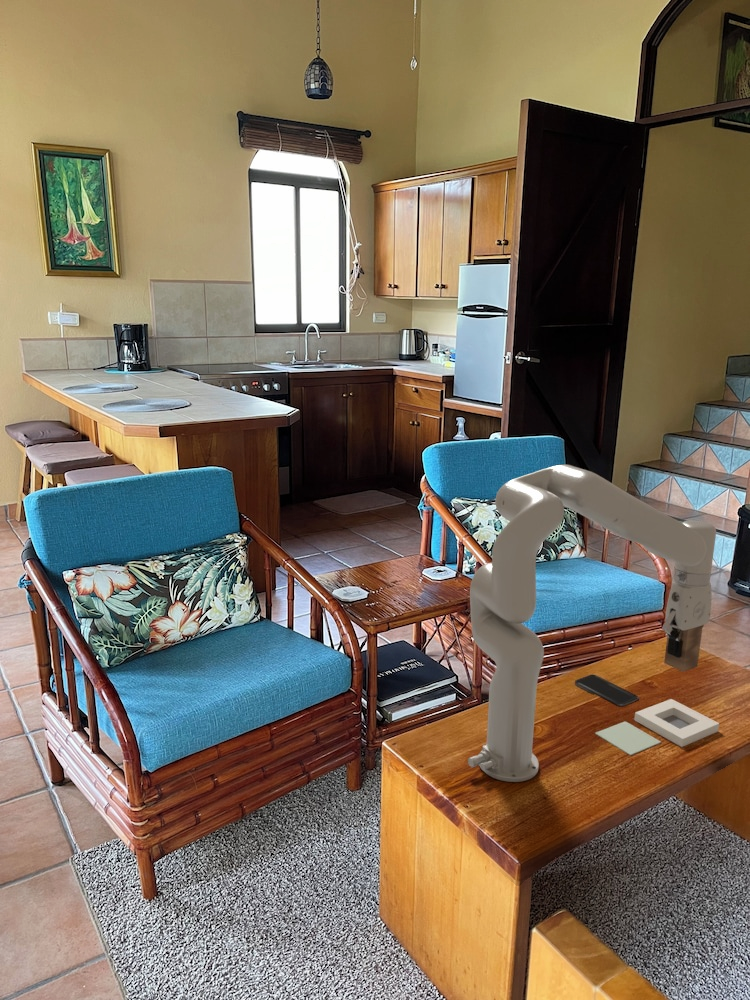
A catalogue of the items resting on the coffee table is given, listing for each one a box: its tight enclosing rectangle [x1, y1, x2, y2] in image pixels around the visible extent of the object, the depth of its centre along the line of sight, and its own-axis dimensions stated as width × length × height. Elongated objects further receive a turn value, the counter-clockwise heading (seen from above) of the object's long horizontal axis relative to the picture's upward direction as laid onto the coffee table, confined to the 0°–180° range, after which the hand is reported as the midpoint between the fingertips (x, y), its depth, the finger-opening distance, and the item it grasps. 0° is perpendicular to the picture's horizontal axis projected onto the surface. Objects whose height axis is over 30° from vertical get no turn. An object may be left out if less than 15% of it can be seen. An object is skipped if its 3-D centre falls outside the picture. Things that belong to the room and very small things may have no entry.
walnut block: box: [663, 624, 704, 673], centre depth 167 cm, size 5×5×10 cm
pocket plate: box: [633, 698, 720, 748], centre depth 172 cm, size 13×13×2 cm
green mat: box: [594, 720, 662, 756], centre depth 166 cm, size 10×10×1 cm
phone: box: [574, 674, 640, 707], centre depth 188 cm, size 8×1×15 cm
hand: (682, 651), depth 167 cm, fingers closed on walnut block, 5 cm apart
